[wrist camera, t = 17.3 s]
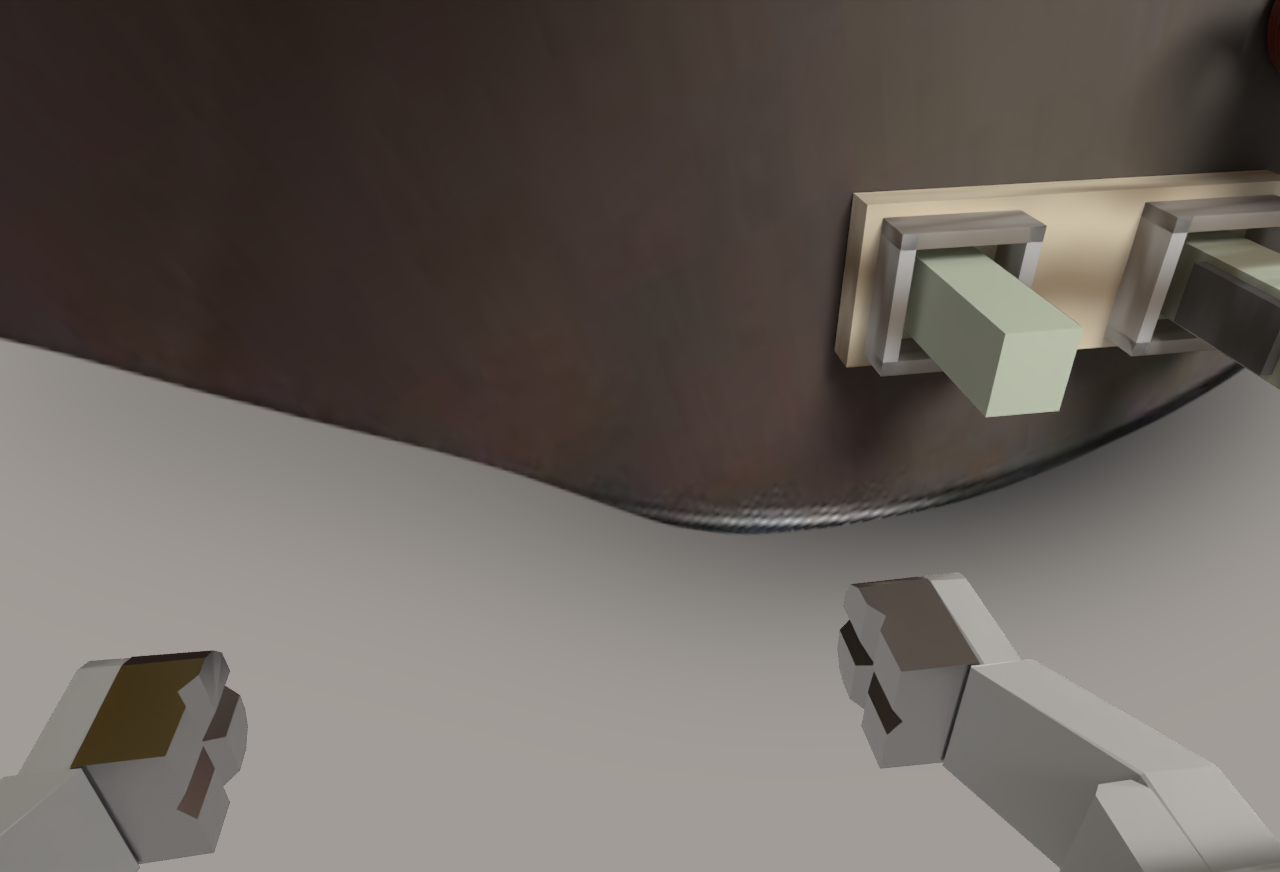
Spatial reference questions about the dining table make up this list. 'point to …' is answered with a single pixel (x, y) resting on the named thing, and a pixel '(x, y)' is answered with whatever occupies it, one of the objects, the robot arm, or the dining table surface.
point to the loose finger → (990, 332)
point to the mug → (1274, 35)
